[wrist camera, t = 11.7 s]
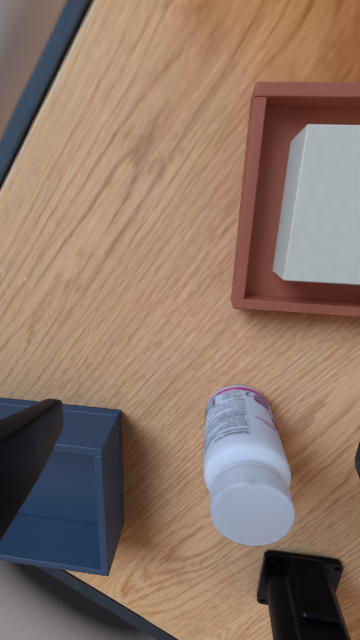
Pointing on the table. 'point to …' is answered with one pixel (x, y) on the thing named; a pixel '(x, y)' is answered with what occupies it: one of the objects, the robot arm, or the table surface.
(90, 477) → the box
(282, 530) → the pill bottle
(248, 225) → the tray
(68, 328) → the table surface
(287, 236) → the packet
